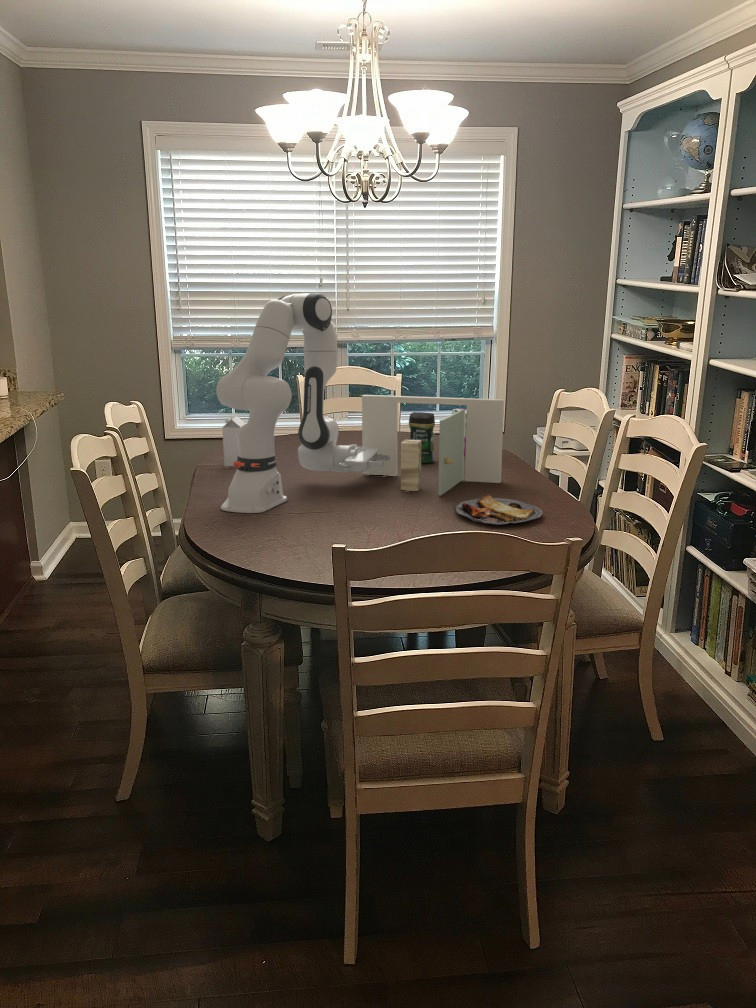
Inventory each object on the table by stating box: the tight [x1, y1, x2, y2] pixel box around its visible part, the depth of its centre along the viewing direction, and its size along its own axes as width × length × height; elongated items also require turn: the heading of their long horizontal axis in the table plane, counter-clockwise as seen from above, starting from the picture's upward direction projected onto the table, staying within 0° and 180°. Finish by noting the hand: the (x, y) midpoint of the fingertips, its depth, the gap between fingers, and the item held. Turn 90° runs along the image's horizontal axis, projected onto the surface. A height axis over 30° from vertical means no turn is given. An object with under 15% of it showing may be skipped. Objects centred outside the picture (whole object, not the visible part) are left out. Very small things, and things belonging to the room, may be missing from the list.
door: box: [437, 408, 466, 496], centre depth 262 cm, size 3×22×24 cm, turn 156°
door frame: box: [361, 394, 505, 484], centre depth 274 cm, size 2×48×28 cm, turn 76°
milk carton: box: [222, 412, 247, 467], centre depth 295 cm, size 7×7×19 cm
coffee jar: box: [408, 411, 436, 464], centre depth 300 cm, size 10×8×19 cm
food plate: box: [454, 494, 543, 525], centre depth 236 cm, size 25×23×4 cm
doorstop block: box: [400, 439, 422, 492], centre depth 263 cm, size 6×6×16 cm
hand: (386, 461), depth 264 cm, fingers open, 8 cm apart
